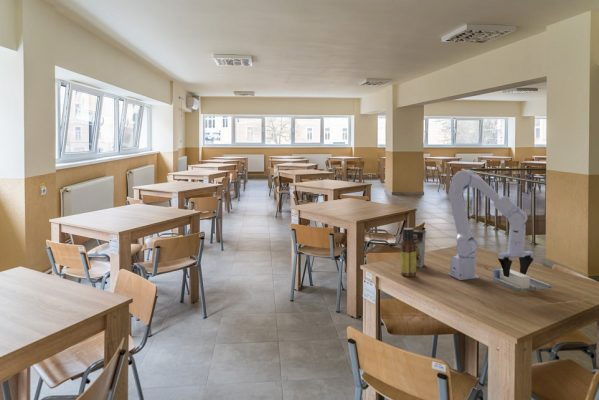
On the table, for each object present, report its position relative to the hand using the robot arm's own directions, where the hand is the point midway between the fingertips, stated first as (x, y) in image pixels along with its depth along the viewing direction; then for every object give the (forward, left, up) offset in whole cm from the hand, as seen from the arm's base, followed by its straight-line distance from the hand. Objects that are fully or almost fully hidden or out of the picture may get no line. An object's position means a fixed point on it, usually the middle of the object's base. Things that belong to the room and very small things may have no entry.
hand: (514, 275), depth 177 cm
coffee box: (-24, +36, -4) cm, 44 cm away
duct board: (+3, 0, -4) cm, 5 cm away
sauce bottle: (-34, +22, -4) cm, 41 cm away
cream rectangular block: (0, 0, -3) cm, 3 cm away
